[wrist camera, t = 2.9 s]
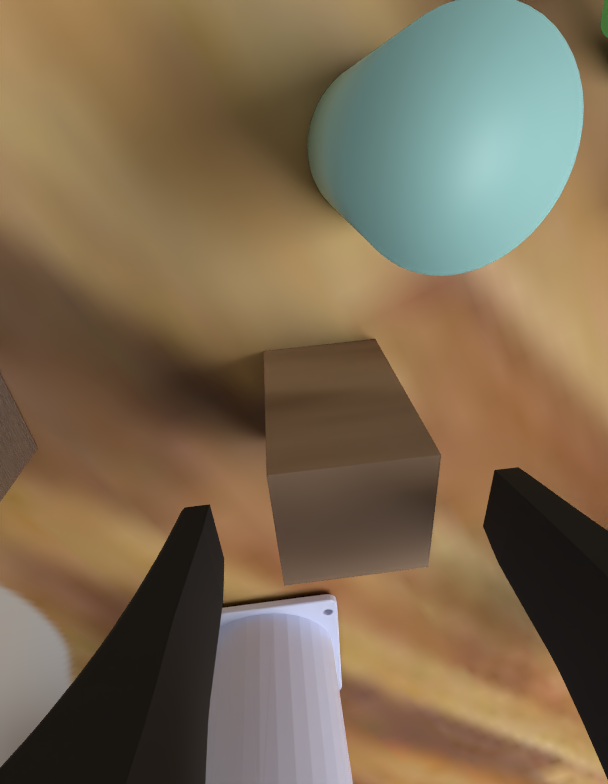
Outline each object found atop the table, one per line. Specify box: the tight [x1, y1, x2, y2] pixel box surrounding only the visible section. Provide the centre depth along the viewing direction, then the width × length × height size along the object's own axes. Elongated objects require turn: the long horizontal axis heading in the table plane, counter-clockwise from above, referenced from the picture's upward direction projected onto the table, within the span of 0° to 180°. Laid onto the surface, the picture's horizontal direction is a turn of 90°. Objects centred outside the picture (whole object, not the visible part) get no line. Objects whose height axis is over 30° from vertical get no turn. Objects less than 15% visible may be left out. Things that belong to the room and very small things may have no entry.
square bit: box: [264, 339, 441, 586], centre depth 14 cm, size 4×4×6 cm
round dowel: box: [308, 0, 584, 276], centre depth 10 cm, size 4×4×6 cm
